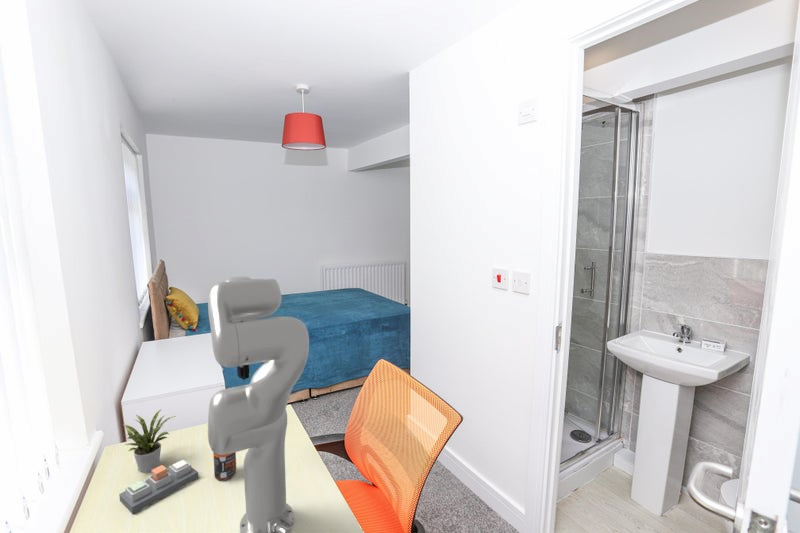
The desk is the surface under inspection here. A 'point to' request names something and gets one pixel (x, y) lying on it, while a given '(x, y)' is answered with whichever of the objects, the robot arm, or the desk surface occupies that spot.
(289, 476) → the desk surface
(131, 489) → the button
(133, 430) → the house plant
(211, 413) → the robot arm
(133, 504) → the panel
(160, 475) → the button
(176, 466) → the button
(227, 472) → the supplement bottle
